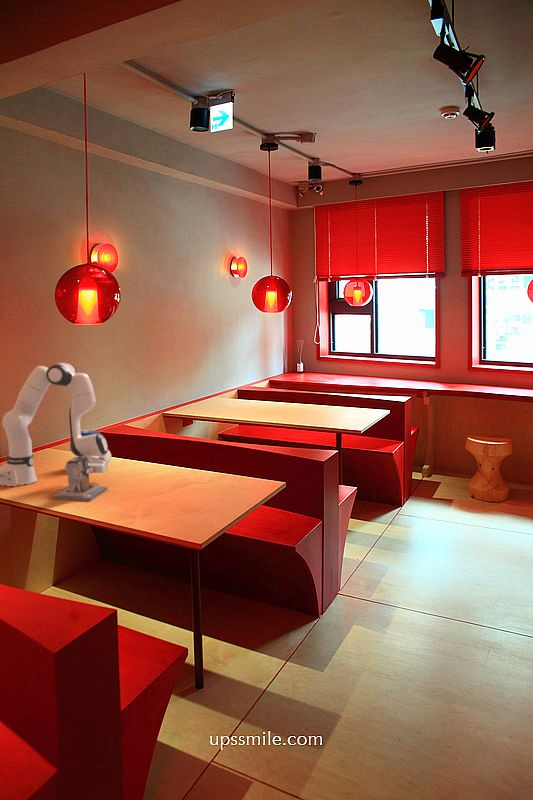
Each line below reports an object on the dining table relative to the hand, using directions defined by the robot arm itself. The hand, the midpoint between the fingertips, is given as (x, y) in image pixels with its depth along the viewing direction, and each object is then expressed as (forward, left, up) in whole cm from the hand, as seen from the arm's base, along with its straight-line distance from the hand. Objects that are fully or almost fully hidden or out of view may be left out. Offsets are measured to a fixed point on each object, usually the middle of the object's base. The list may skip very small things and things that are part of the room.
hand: (78, 471), depth 297 cm
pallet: (0, +1, -12) cm, 12 cm away
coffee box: (0, 0, -10) cm, 10 cm away
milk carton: (-20, +50, -12) cm, 55 cm away
